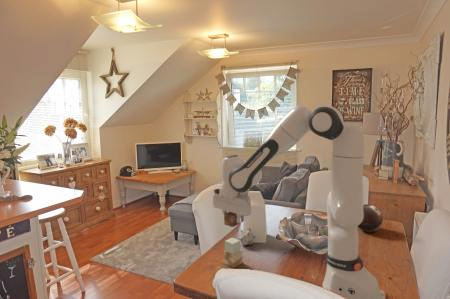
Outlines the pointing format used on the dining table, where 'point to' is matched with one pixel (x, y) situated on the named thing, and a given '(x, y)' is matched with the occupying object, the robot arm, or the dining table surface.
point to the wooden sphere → (371, 218)
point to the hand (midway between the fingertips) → (232, 220)
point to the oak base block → (233, 258)
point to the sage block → (232, 245)
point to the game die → (246, 237)
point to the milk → (256, 217)
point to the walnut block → (230, 219)
